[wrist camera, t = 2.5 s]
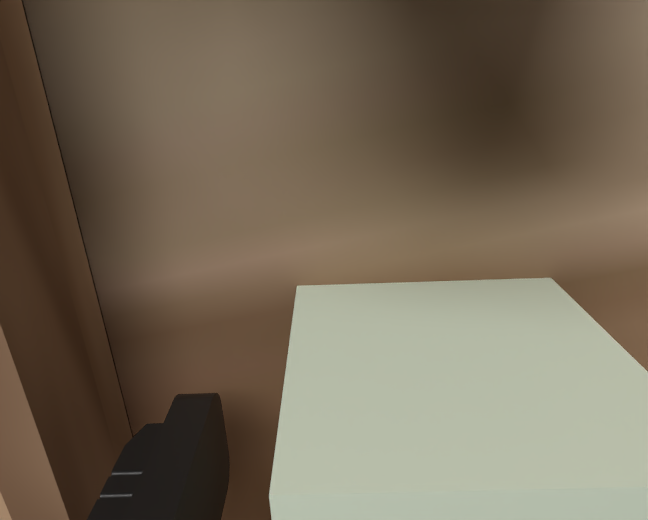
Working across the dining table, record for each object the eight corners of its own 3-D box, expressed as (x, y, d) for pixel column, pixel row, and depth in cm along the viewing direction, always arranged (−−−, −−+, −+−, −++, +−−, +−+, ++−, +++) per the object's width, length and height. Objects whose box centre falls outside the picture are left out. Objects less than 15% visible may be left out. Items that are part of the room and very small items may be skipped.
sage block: (549, 276, 9) (763, 484, 5) (518, 465, 11) (649, 744, 7) (297, 283, 9) (268, 494, 5) (309, 470, 11) (297, 748, 7)
